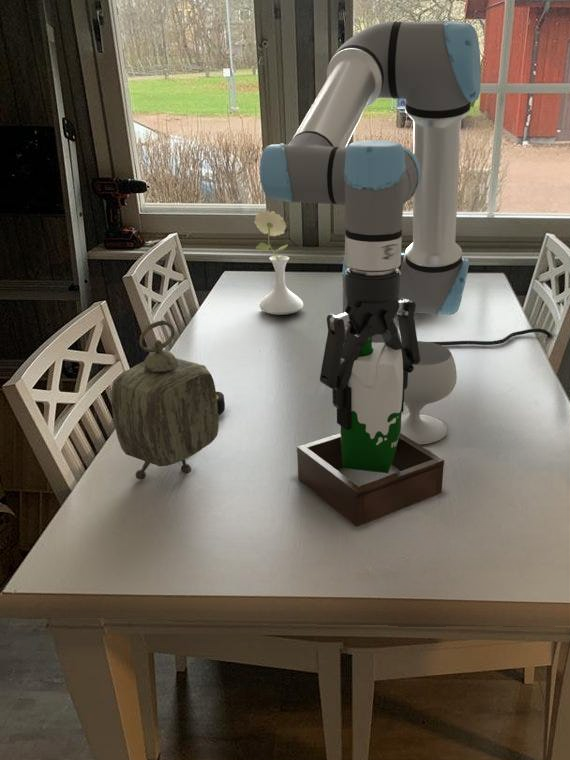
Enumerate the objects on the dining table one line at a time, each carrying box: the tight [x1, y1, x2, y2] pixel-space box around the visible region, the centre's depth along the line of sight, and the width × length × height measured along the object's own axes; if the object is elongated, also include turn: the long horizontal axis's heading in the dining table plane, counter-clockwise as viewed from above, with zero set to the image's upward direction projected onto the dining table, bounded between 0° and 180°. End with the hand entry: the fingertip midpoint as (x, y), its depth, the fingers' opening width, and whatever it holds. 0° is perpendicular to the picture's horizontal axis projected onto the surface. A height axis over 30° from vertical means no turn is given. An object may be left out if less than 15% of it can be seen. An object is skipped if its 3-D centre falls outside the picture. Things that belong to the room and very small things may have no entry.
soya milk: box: [340, 333, 403, 474], centre depth 109 cm, size 9×9×20 cm
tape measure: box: [216, 391, 226, 417], centre depth 137 cm, size 7×7×4 cm
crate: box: [296, 432, 445, 528], centre depth 114 cm, size 16×16×6 cm
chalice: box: [400, 340, 458, 445], centre depth 129 cm, size 14×14×15 cm
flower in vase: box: [253, 209, 304, 316], centre depth 184 cm, size 13×11×25 cm
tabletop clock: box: [110, 320, 219, 481], centre depth 113 cm, size 14×9×25 cm, turn 149°
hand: (370, 417), depth 110 cm, fingers closed on soya milk, 9 cm apart
